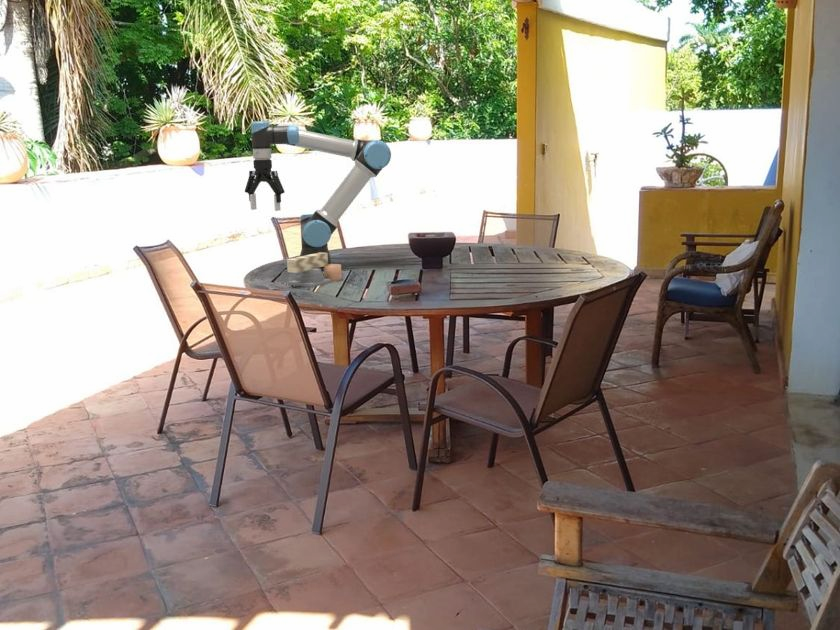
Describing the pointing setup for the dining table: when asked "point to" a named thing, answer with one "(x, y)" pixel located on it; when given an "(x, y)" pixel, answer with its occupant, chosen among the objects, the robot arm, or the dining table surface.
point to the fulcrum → (309, 278)
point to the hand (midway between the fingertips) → (265, 210)
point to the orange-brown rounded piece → (333, 272)
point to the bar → (307, 262)
